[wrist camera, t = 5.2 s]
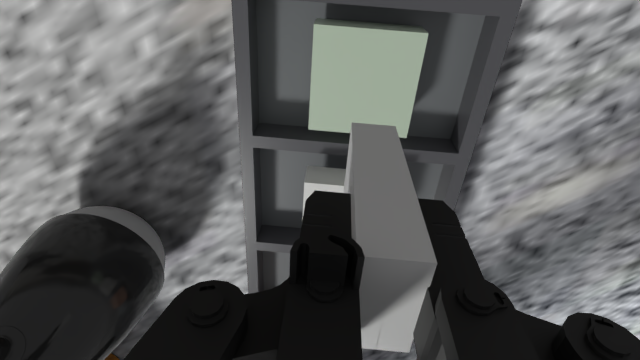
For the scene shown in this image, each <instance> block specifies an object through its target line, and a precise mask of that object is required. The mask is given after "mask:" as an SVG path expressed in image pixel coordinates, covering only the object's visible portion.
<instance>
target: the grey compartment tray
mask: <svg viewBox="0 0 640 360" xmlns="http://www.w3.org/2000/svg"><path fill="white" fill-rule="evenodd" d="M521 3H522V0H232V16H233V34H234V51H235V68H236V85H237V103H238V120H239V137H240V154H241V172H242V189H243V206H244V223H245V240H246V258H247V275H248V292H249V294H250V293H256V292H262V291H265V290H269V289H272V288H274V287H276V286H278V285H280V284H282V283H283V282H284V281H285V280H287V279H288V278H289V272H290V250H291V248H292V246H293V244H294V242H295V241H296V240H297V239H299V238H300V232H301V226H302V217H303V197H304V181H305V176H306V170H307V166H317V167H328V168H340V169H346V165H347V157H348V149H349V140H350V133H342V132H331V131H319V130H308V125H309V106H310V86H311V67H312V48H313V29H314V22H315V20H316V18H323V19H336V20H348V21H361V22H373V23H385V24H398V25H410V26H422V27H423V28H424V29H425V30H426V31H427V32H428V33H429V34H428V39H427V44H426V49H425V53H424V58H423V63H422V68H421V72H420V77H419V82H418V86H417V91H416V96H415V101H414V105H413V110H412V115H411V120H410V124H409V129H408V134H407V138H400V137H399V139H400V142H401V146H402V149H403V152H404V155H405V159H406V162H407V165H408V169H409V172H410V175H411V178H412V182H413V185H414V188H415V191H416V195H417V198H421V199H432V200H443V201H444V202H445V203H446V204H447V205H448V206H449V207H450V208H451V209H452V210H453V211H454V209H455V206H456V203H457V200H458V197H459V194H460V190H461V187H462V184H463V181H464V178H465V175H466V172H467V169H468V166H469V163H470V160H471V157H472V154H473V150H474V147H475V144H476V141H477V138H478V135H479V132H480V129H481V126H482V123H483V120H484V117H485V114H486V111H487V107H488V104H489V101H490V98H491V95H492V92H493V89H494V86H495V83H496V80H497V77H498V74H499V71H500V67H501V64H502V61H503V58H504V55H505V52H506V49H507V46H508V43H509V40H510V37H511V34H512V31H513V28H514V24H515V21H516V18H517V15H518V12H519V9H520V6H521Z"/></svg>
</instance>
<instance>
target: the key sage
mask: <svg viewBox="0 0 640 360" xmlns="http://www.w3.org/2000/svg"><path fill="white" fill-rule="evenodd" d="M428 34H429V33H428V32H427V31H426V30H425V29H424V28H423V27H422V26H410V25H398V24H385V23H373V22H361V21H348V20H336V19H323V18H316V20H315V22H314V29H313V48H312V67H311V86H310V106H309V125H308V130H319V131H331V132H342V133H350V132H351V123H364V124H376V125H388V126H396V129H397V133H398V136H399V137H400V138H407V134H408V129H409V124H410V120H411V115H412V110H413V105H414V101H415V96H416V91H417V86H418V82H419V77H420V72H421V68H422V63H423V58H424V53H425V49H426V44H427V39H428Z"/></svg>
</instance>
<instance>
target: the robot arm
mask: <svg viewBox="0 0 640 360" xmlns="http://www.w3.org/2000/svg"><path fill="white" fill-rule="evenodd" d="M413 339H414V341H415V347H416V352H417V360H640V340H639V339H638V338H637V337H635V336H634V335H633V334H632V333H630V332H629V331H628V330H627V329H625V328H624V327H622V326H620V325H618V324H617V323H615V322H613V321H611V320H609V319H607V318H604V317H601V316H598V315H595V314H592V313H576V314H573V315H570V316H568V317H567V319H566V320H565V322H564V324H563V325H562V326H559V325H556V324H553V323H551V322H548V321H545V320H542V319H539V318H536V317H533V316H530V315H527V314H525V313H522V312H520V311H518V310H516V309H515V308H514V306H513V304H512V302H511V301H510V300H509V298H508V297H507V296H506V294H505V293H504V292H503V291H501V290H500V289H499V288H498V287H496V286H495V285H494V284H492V283H490V282H488V281H486V280H484V278H483V275H482V273H481V271H480V268H479V266H478V264H477V262H476V259H475V257H474V255H473V252H472V250H471V248H470V246H469V243H468V241H467V239H465V234H464V232H463V230H462V228H460V223H459V220H458V218H457V216H456V214H455V212H454V211H453V210H452V209H451V208H450V207H449V206H448V205H447V204H446V203H445V202H444V201H443V200H432V199H421V198H417V195H416V191H415V188H414V185H413V182H412V178H411V175H410V172H409V169H408V165H407V162H406V159H405V155H404V152H403V149H402V146H401V142H400V139H399V136H398V133H397V129H396V126H388V125H376V124H364V123H351V132H350V140H349V149H348V157H347V165H346V174H345V182H344V193H338V192H327V191H316V190H315V191H314V192H313V193H312V194H311V195H310V196H309V197H308V198H307V200H306V202H305V208H304V215H303V220H302V226H301V232H300V238H299V239H297V240H296V241H295V242H294V244H293V246H292V248H291V250H290V272H289V278H288V279H287V280H285V281H284V282H283V283H282V284H280V285H278V286H276V287H274V288H272V289H269V290H265V291H262V292H256V293H250V294H245V295H244V294H243V293H242V292H241V290H240V289H239V288H238V287H237V286H235V285H233V284H231V283H229V282H225V281H217V280H211V281H205V282H199V283H197V284H195V285H193V286H191V287H188V288H186V289H185V290H184V291H183V292H181V293H180V294H179V295H178V296H177V297H176V298H175V299H174V300H173V301H172V302H171V303H170V305H169V306H168V307H167V308H166V309H165V311H164V312H163V313H162V314H161V315H160V317H159V318H158V319H157V320H156V321H155V323H154V324H153V325H152V326H151V327H150V329H149V330H148V331H147V332H146V333H145V334H144V336H143V337H142V338H141V339H140V340H139V342H138V343H137V344H136V345H135V346H134V348H133V349H132V350H131V351H130V352H129V354H128V355H127V356H126V357H125V358H124V360H362V348H365V349H375V350H385V351H396V352H406V353H409V351H410V348H411V345H412V342H413Z"/></svg>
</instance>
